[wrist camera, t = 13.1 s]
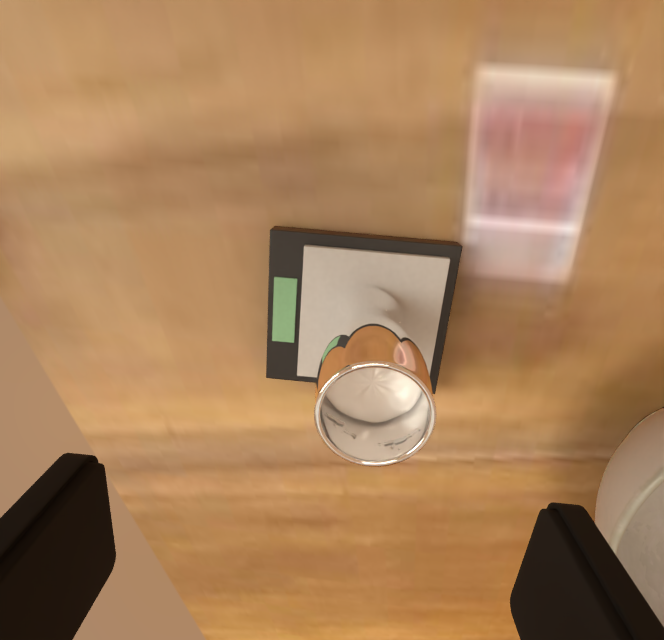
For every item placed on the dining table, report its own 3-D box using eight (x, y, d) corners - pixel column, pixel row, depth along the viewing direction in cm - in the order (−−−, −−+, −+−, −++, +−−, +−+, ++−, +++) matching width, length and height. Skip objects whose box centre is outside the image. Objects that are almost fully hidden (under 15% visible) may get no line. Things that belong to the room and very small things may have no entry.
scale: (270, 368, 42) (264, 382, 40) (274, 226, 37) (268, 230, 35) (431, 384, 42) (436, 398, 39) (457, 241, 37) (464, 247, 34)
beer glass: (390, 367, 38) (408, 486, 24) (317, 341, 38) (293, 447, 24) (421, 298, 36) (463, 385, 22) (344, 270, 35) (335, 339, 21)
